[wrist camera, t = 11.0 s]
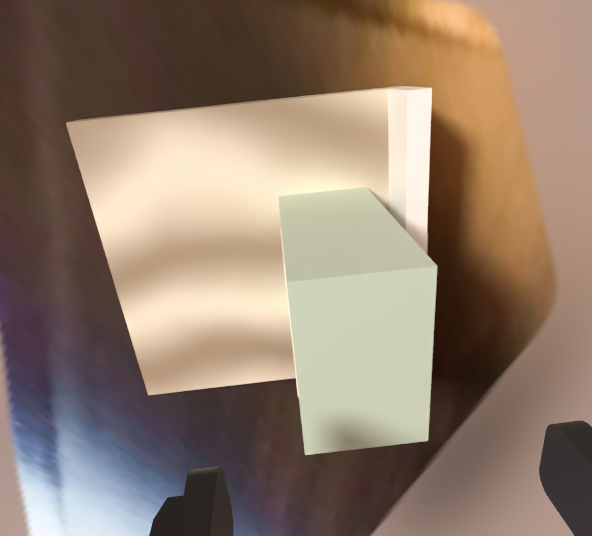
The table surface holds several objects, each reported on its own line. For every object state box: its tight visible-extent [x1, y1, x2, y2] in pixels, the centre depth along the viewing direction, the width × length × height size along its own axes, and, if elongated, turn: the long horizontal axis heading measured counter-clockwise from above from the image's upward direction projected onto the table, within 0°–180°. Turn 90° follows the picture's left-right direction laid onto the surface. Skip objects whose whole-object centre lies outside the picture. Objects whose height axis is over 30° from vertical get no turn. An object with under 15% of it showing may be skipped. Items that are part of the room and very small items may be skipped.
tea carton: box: [278, 187, 437, 455], centre depth 19 cm, size 5×7×10 cm, turn 5°
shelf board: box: [66, 86, 432, 395], centre depth 22 cm, size 16×16×4 cm
